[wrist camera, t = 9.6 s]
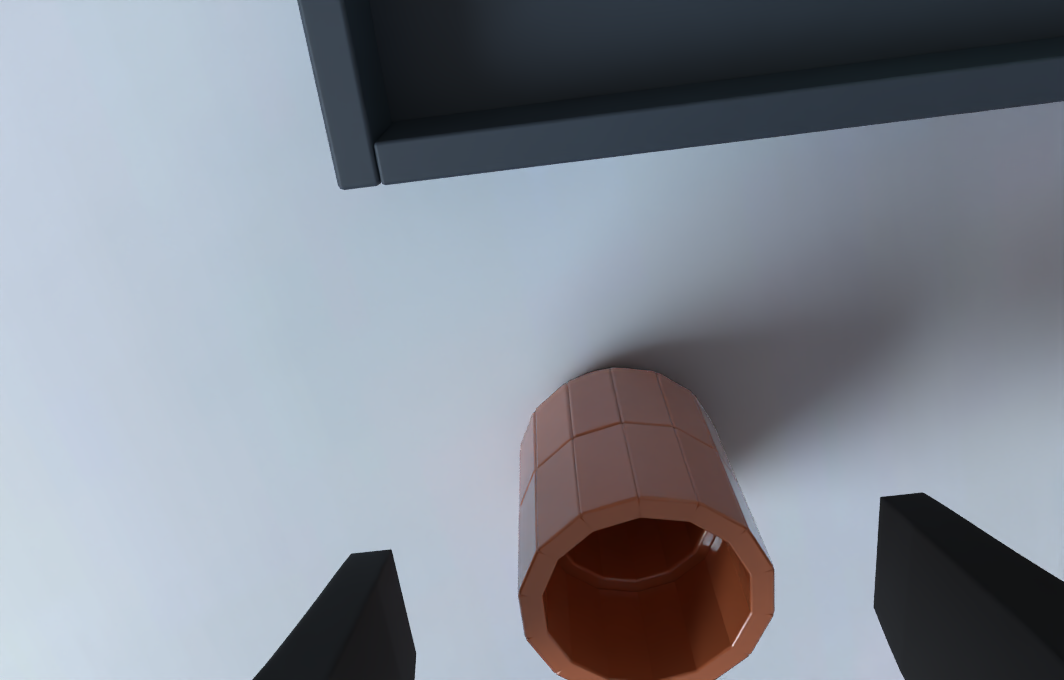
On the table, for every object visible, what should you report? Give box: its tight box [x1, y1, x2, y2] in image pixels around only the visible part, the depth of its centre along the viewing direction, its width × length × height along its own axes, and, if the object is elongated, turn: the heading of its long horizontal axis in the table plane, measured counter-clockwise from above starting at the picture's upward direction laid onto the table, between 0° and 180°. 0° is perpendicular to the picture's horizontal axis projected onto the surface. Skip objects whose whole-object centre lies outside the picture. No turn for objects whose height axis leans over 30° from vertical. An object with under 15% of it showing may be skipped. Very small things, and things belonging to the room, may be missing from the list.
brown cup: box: [518, 367, 775, 680], centre depth 14 cm, size 4×4×4 cm
